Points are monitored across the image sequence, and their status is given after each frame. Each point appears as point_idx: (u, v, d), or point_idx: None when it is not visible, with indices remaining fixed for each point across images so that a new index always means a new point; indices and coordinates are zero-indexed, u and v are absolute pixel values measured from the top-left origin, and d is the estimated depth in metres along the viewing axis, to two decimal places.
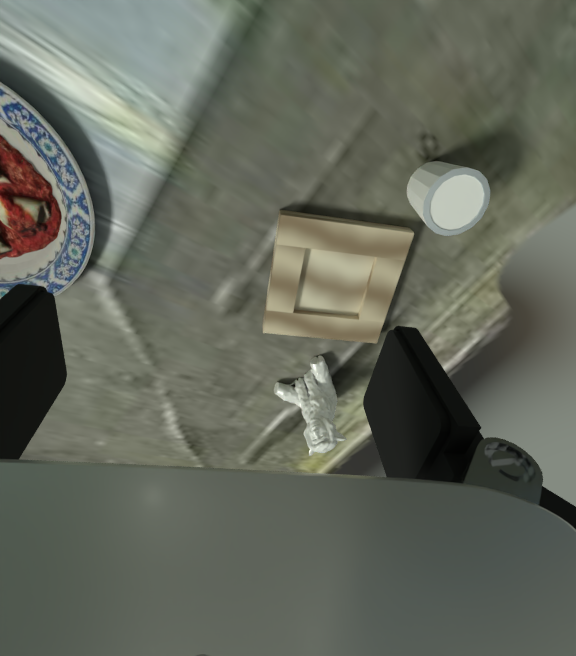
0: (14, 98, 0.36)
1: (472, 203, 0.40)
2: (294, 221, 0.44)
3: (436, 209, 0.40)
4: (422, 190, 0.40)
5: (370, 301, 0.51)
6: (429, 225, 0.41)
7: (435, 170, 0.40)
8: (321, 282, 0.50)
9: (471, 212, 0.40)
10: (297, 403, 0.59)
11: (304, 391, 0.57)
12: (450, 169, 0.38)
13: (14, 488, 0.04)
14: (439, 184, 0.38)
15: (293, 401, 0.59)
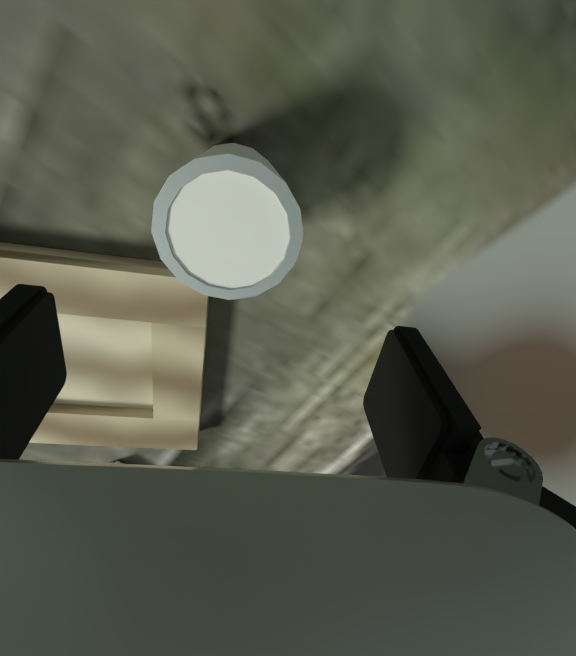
0: None
1: (266, 235, 0.18)
2: None
3: (187, 247, 0.18)
4: None
5: (163, 391, 0.29)
6: (182, 280, 0.19)
7: None
8: (69, 360, 0.28)
9: (269, 253, 0.18)
10: None
11: None
12: None
13: (14, 488, 0.04)
14: (173, 193, 0.17)
15: None
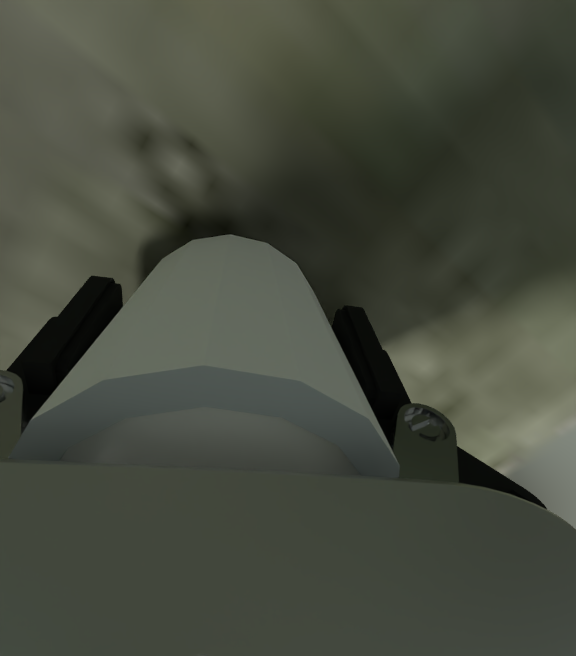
0: None
1: None
2: None
3: None
4: None
5: None
6: None
7: (124, 317, 0.08)
8: None
9: None
10: None
11: None
12: (111, 364, 0.06)
13: (14, 488, 0.04)
14: (49, 457, 0.06)
15: None
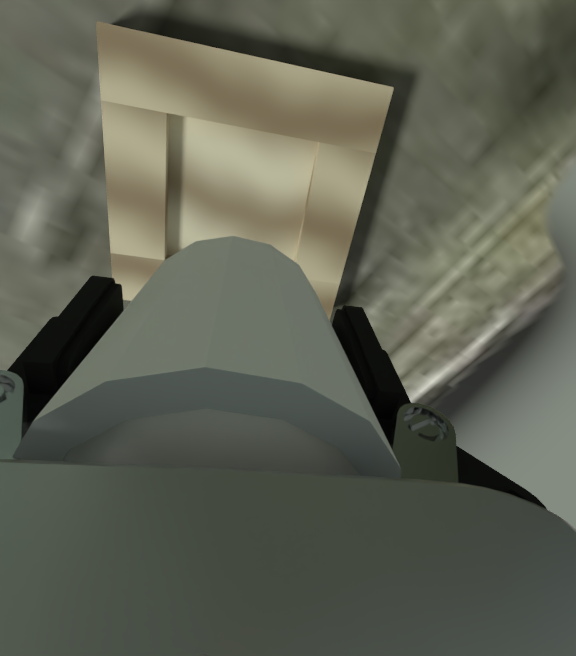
0: None
1: None
2: (130, 41, 0.20)
3: None
4: None
5: (311, 240, 0.27)
6: None
7: (127, 318, 0.08)
8: (216, 199, 0.26)
9: None
10: None
11: None
12: (113, 366, 0.06)
13: (14, 488, 0.04)
14: (52, 457, 0.06)
15: None
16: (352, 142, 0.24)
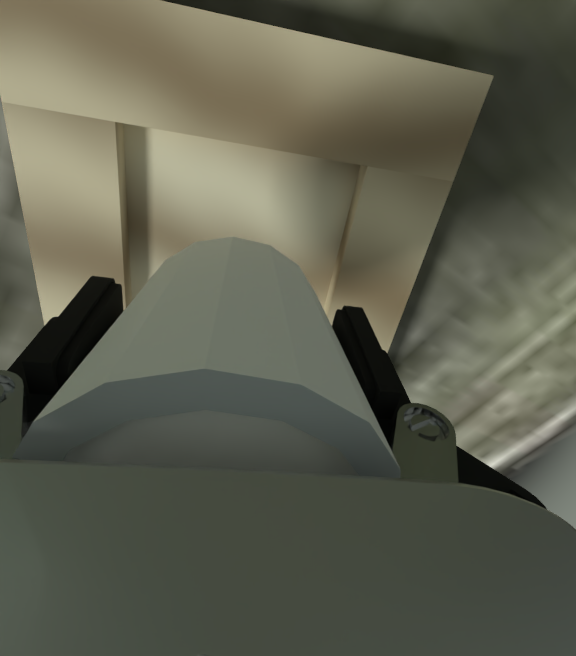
0: None
1: None
2: None
3: None
4: None
5: None
6: None
7: (127, 319, 0.08)
8: None
9: None
10: None
11: None
12: (113, 367, 0.06)
13: (14, 488, 0.04)
14: (51, 458, 0.06)
15: None
16: (418, 165, 0.15)
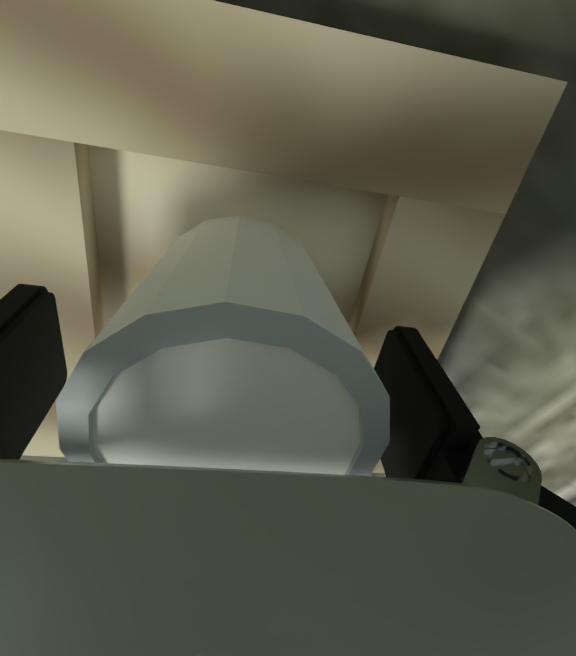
0: None
1: (311, 441, 0.08)
2: None
3: None
4: None
5: None
6: None
7: (151, 279, 0.09)
8: None
9: (316, 469, 0.09)
10: None
11: None
12: (148, 306, 0.07)
13: (14, 488, 0.04)
14: (98, 384, 0.07)
15: None
16: (462, 195, 0.12)
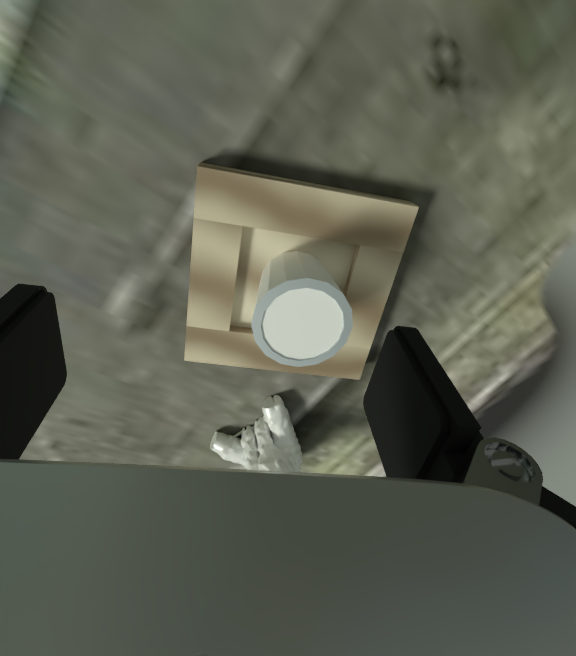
0: None
1: (327, 325, 0.26)
2: (221, 179, 0.27)
3: (273, 333, 0.26)
4: None
5: None
6: (268, 354, 0.27)
7: (275, 273, 0.27)
8: None
9: (328, 336, 0.27)
10: (244, 464, 0.40)
11: (252, 448, 0.39)
12: (284, 279, 0.25)
13: (14, 488, 0.04)
14: (269, 301, 0.25)
15: (237, 461, 0.40)
16: (385, 245, 0.30)
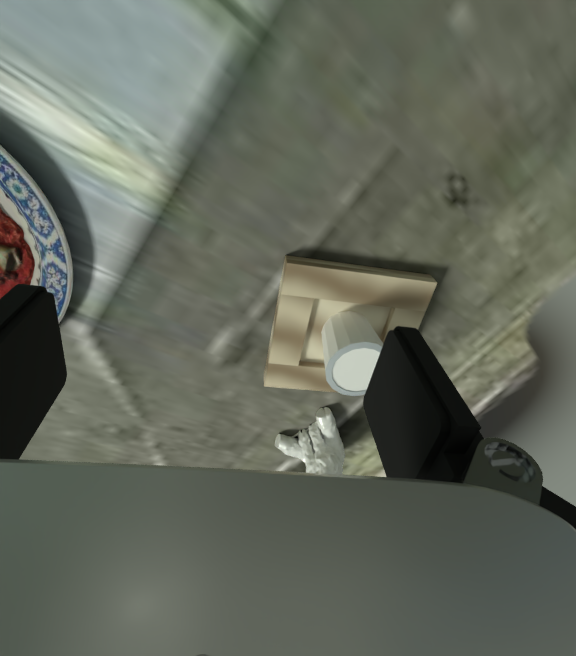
0: None
1: None
2: (302, 270, 0.39)
3: (339, 375, 0.39)
4: (326, 354, 0.39)
5: None
6: (334, 388, 0.40)
7: (339, 334, 0.39)
8: None
9: None
10: (300, 458, 0.54)
11: (309, 446, 0.52)
12: (349, 342, 0.37)
13: (14, 488, 0.04)
14: (338, 356, 0.37)
15: (296, 456, 0.53)
16: (412, 307, 0.42)
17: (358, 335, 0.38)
